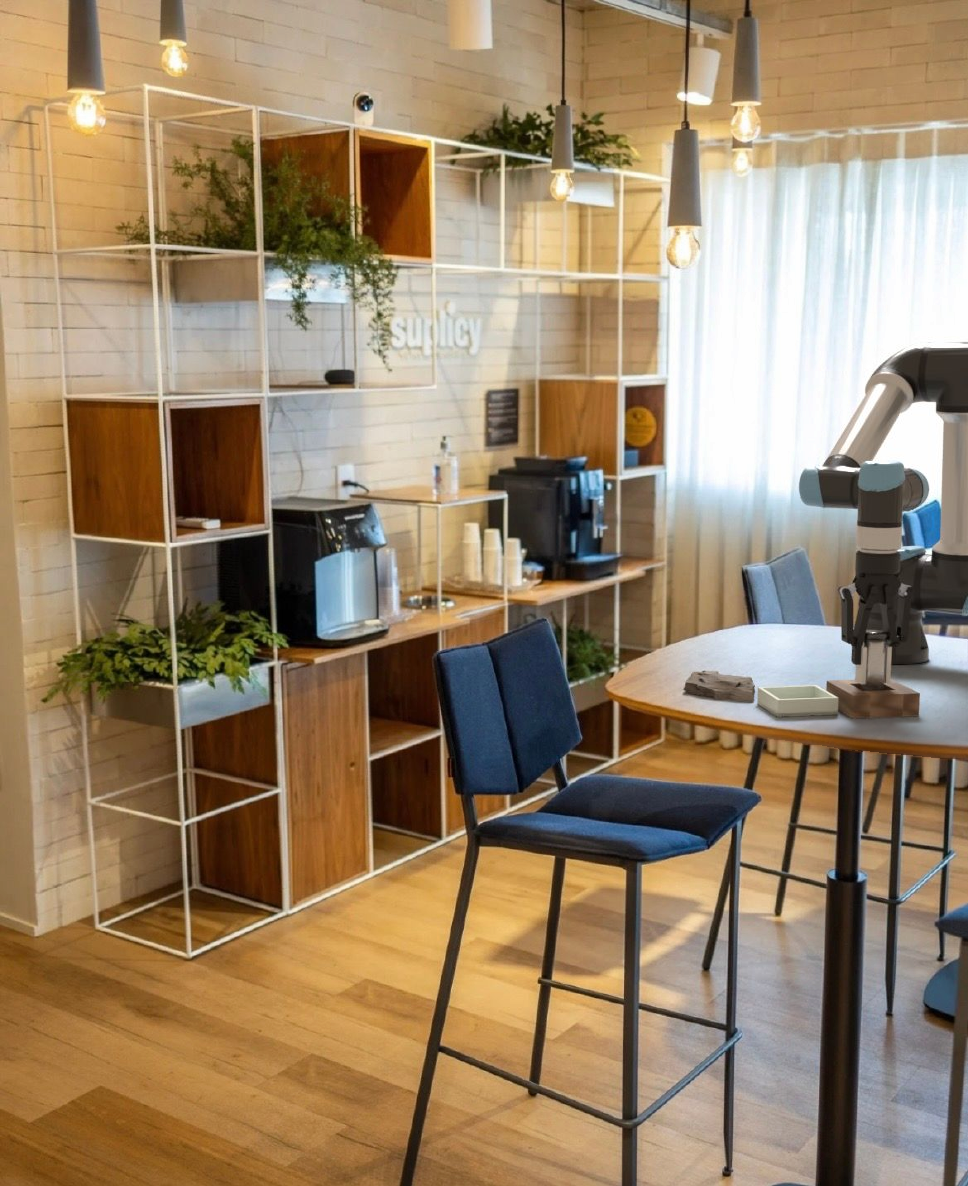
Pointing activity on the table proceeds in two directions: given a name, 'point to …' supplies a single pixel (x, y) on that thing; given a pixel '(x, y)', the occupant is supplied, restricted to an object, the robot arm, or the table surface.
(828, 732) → the table surface
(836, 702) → the tray
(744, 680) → the rock
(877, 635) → the capped bottle
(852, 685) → the bore block
